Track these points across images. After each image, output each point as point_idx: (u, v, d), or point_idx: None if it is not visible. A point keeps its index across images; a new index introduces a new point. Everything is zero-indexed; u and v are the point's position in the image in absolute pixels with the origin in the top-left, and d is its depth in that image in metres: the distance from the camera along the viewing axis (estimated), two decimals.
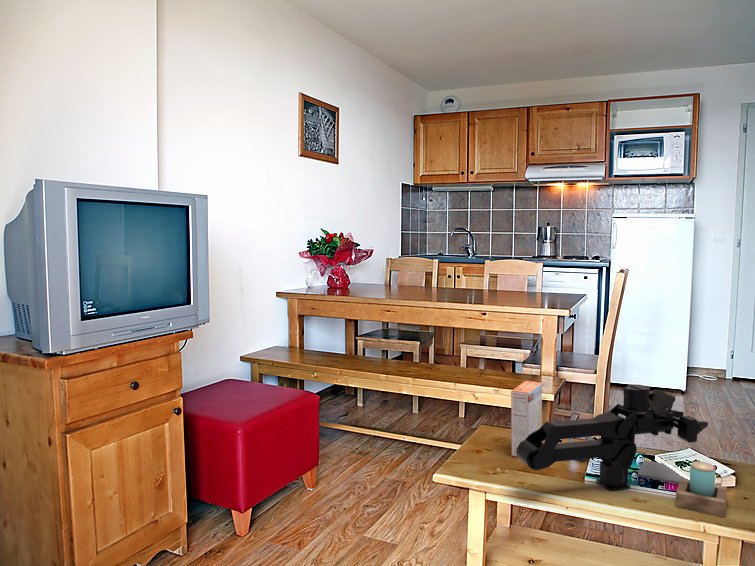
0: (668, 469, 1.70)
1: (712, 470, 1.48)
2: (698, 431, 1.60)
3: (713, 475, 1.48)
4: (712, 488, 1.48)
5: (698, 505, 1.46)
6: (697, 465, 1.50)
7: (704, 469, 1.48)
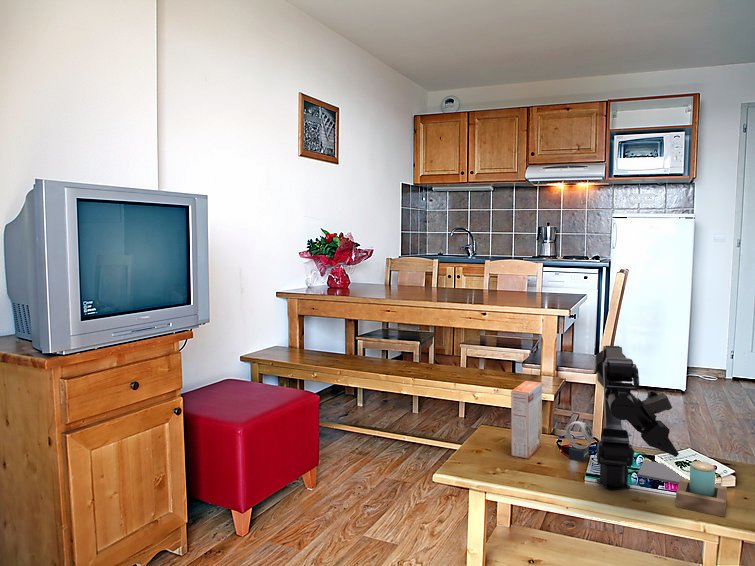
0: (668, 469, 1.70)
1: (712, 470, 1.48)
2: (662, 448, 1.46)
3: (713, 475, 1.48)
4: (712, 488, 1.48)
5: (698, 505, 1.46)
6: (697, 465, 1.50)
7: (704, 469, 1.48)
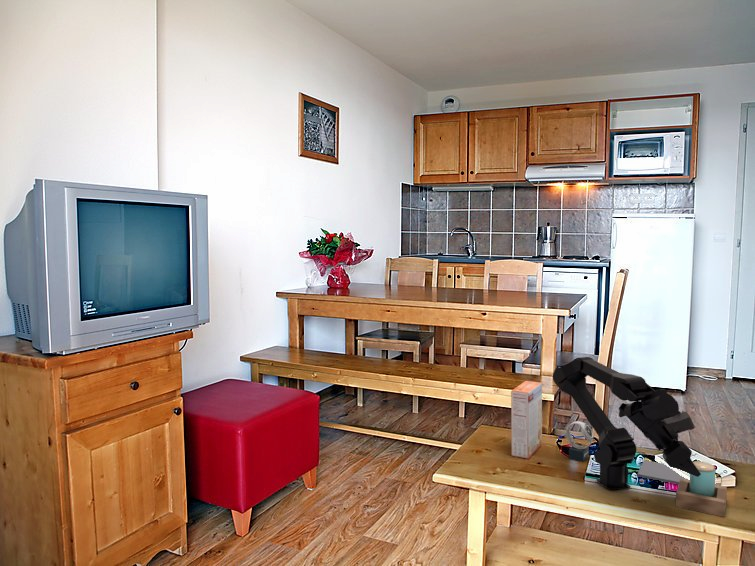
0: (668, 469, 1.70)
1: (712, 470, 1.48)
2: (684, 468, 1.45)
3: (713, 475, 1.47)
4: (712, 488, 1.48)
5: (698, 505, 1.46)
6: (697, 465, 1.49)
7: (704, 469, 1.47)
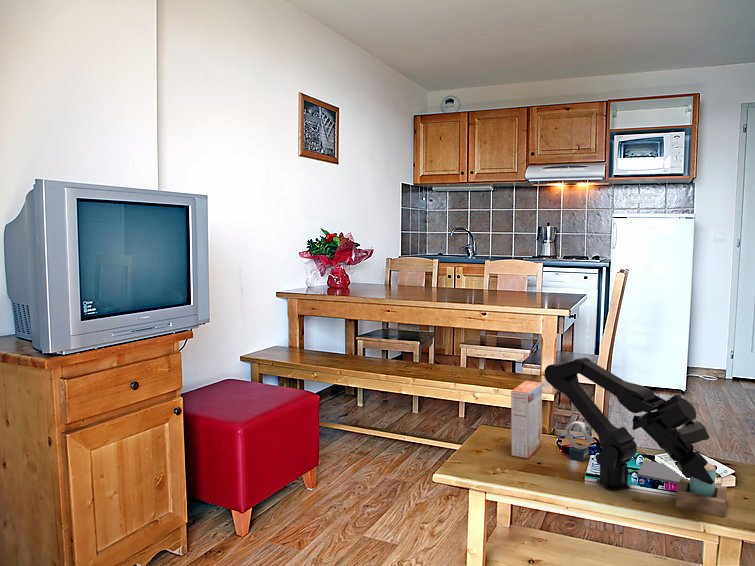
0: (668, 469, 1.70)
1: (712, 470, 1.48)
2: (697, 476, 1.46)
3: (713, 475, 1.48)
4: (712, 488, 1.48)
5: (698, 505, 1.46)
6: None
7: None
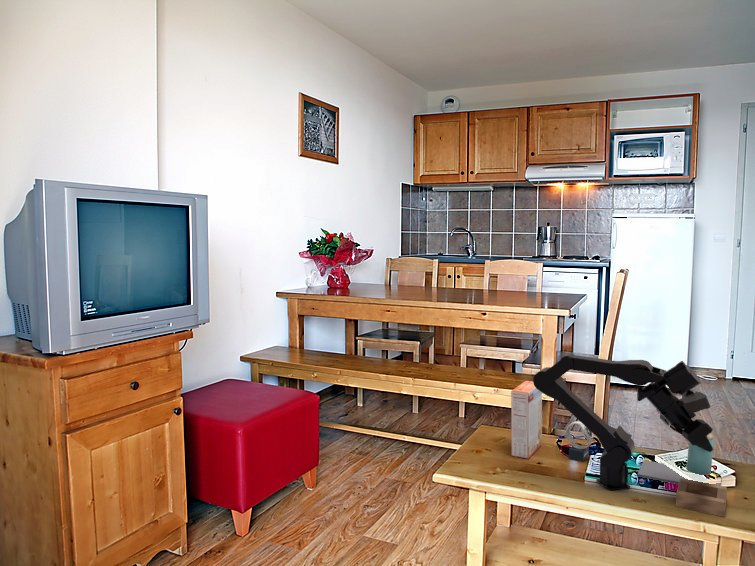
0: (668, 469, 1.70)
1: (712, 438, 1.52)
2: (699, 444, 1.50)
3: (712, 443, 1.52)
4: (711, 455, 1.52)
5: (698, 505, 1.46)
6: None
7: None
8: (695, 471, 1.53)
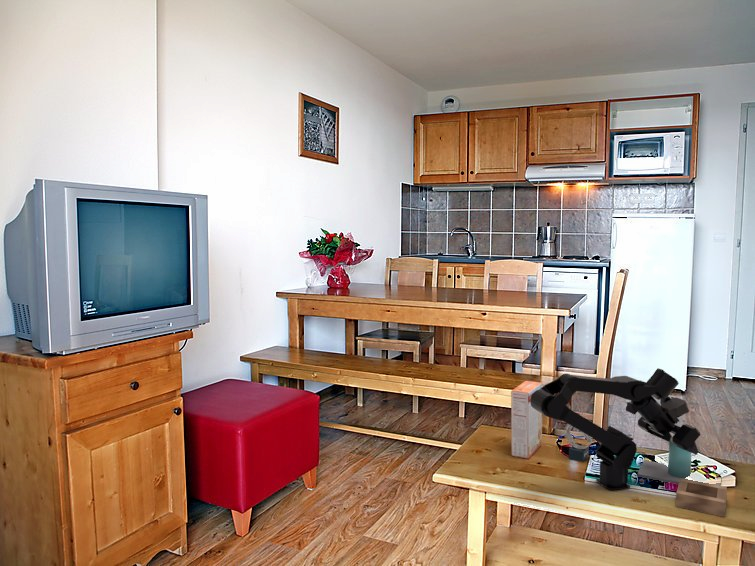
0: None
1: None
2: (688, 449, 1.59)
3: None
4: (690, 459, 1.64)
5: (698, 505, 1.46)
6: None
7: None
8: (679, 475, 1.64)
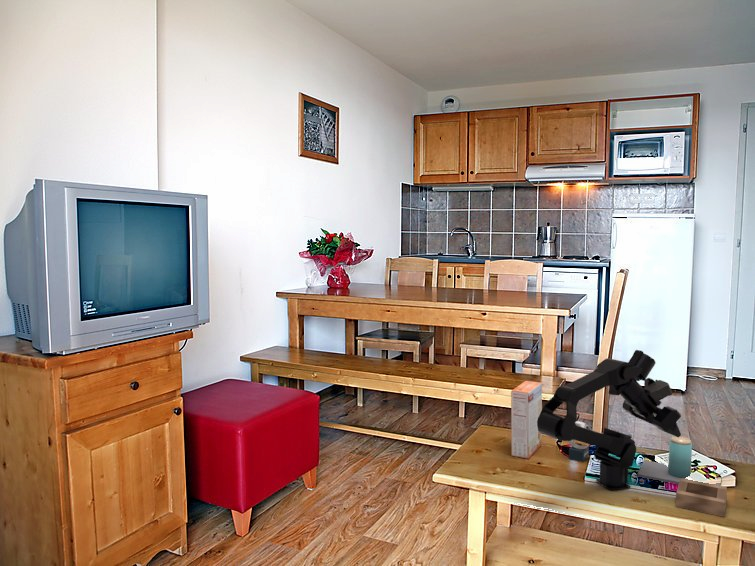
0: None
1: (690, 442, 1.64)
2: (670, 431, 1.59)
3: (691, 447, 1.64)
4: None
5: (698, 505, 1.46)
6: (678, 440, 1.65)
7: (686, 442, 1.63)
8: (679, 475, 1.64)
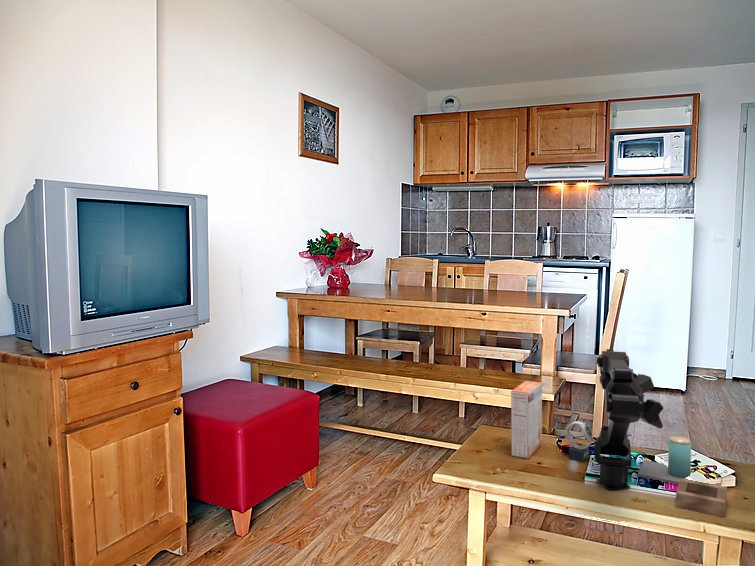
0: None
1: (689, 442, 1.64)
2: (653, 423, 1.66)
3: (690, 446, 1.64)
4: (690, 458, 1.64)
5: (698, 505, 1.46)
6: (676, 440, 1.65)
7: (685, 442, 1.63)
8: (679, 475, 1.64)
